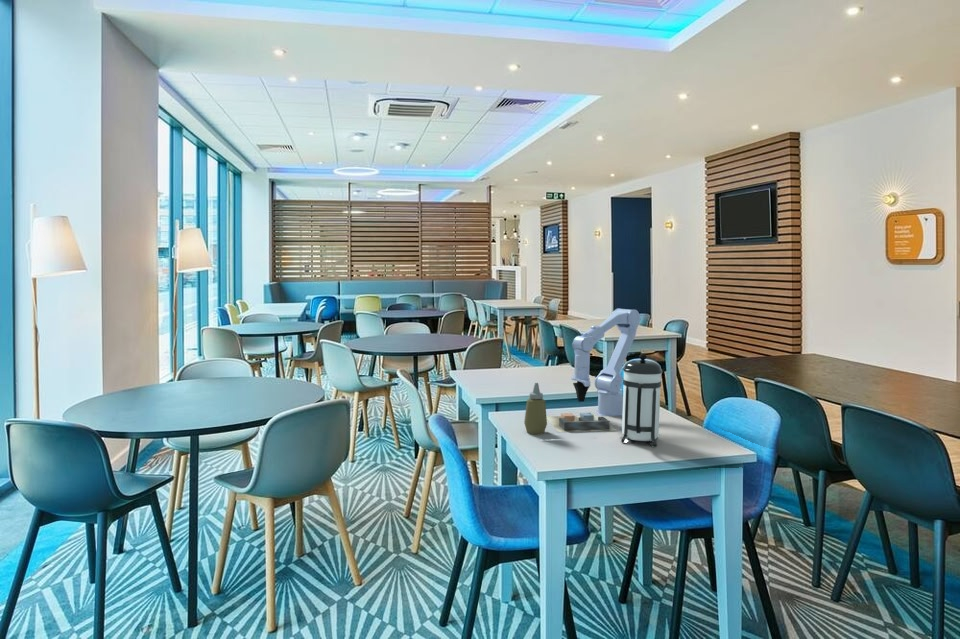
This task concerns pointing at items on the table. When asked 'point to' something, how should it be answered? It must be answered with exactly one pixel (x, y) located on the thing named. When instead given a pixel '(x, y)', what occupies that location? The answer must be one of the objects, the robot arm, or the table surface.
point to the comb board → (580, 424)
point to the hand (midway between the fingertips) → (580, 401)
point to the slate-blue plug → (587, 416)
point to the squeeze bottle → (535, 412)
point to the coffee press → (641, 400)
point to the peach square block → (568, 416)
